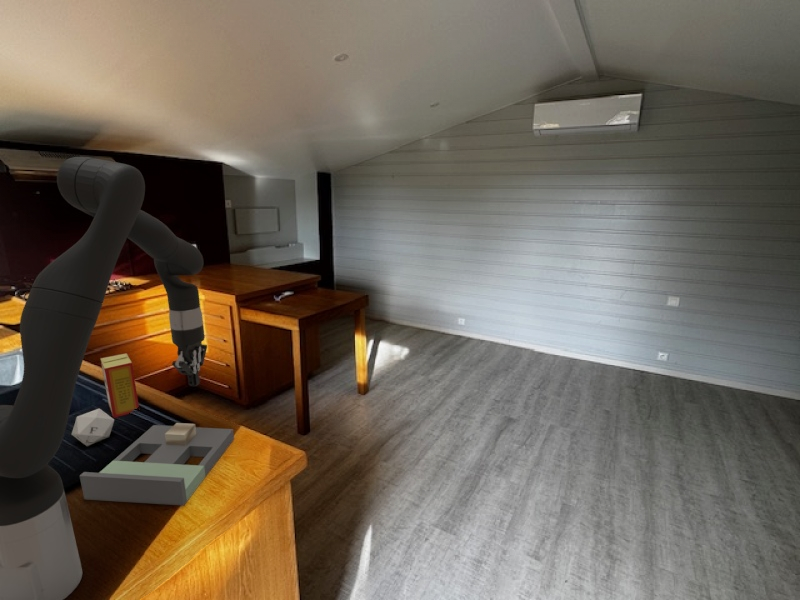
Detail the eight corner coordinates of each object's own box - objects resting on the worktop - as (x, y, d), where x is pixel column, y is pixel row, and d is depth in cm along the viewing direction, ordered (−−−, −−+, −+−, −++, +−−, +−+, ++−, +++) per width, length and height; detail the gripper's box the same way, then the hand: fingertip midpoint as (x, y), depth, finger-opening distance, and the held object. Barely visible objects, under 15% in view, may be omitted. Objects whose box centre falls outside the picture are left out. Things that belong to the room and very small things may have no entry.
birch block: (185, 445, 101) (184, 435, 100) (166, 444, 101) (164, 434, 100) (196, 434, 106) (195, 423, 105) (177, 433, 106) (176, 422, 105)
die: (66, 450, 104) (70, 431, 99) (77, 420, 109) (81, 401, 104) (104, 452, 108) (110, 434, 103) (113, 422, 114) (119, 404, 109)
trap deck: (183, 505, 86) (180, 481, 84) (84, 499, 87) (79, 475, 85) (234, 438, 109) (232, 419, 107) (155, 434, 110) (152, 415, 108)
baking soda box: (139, 410, 121) (131, 361, 117) (113, 418, 117) (104, 367, 113) (133, 398, 128) (126, 351, 124) (108, 405, 124) (100, 357, 120)
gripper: (186, 333, 97) (194, 397, 102) (213, 316, 110) (219, 374, 114) (156, 332, 97) (165, 396, 102) (187, 315, 110) (194, 373, 115)
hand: (194, 384), depth 108 cm, fingers closed
